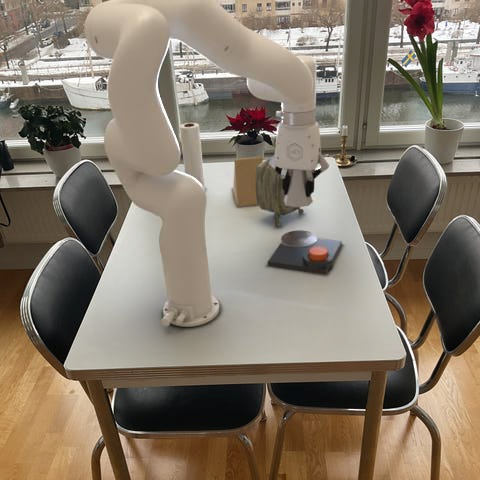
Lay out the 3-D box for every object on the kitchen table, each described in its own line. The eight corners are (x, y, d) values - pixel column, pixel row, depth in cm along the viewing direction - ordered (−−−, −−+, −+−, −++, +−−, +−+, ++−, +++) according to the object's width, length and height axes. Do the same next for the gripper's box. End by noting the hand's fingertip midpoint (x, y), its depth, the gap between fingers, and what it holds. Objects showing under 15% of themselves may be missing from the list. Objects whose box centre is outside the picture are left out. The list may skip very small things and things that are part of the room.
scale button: (324, 262, 129) (324, 256, 128) (307, 260, 130) (307, 253, 129) (329, 254, 132) (329, 247, 131) (312, 251, 134) (312, 245, 133)
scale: (328, 275, 129) (329, 264, 127) (267, 266, 134) (267, 256, 132) (344, 245, 141) (344, 235, 139) (287, 238, 146) (287, 228, 144)
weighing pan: (311, 250, 134) (311, 248, 133) (276, 245, 137) (276, 244, 137) (321, 234, 141) (321, 232, 140) (287, 229, 144) (287, 228, 144)
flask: (311, 208, 128) (312, 168, 123) (281, 207, 130) (280, 167, 124) (314, 196, 134) (315, 157, 128) (285, 196, 136) (285, 157, 130)
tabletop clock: (278, 231, 150) (277, 141, 136) (254, 223, 155) (250, 136, 141) (309, 213, 159) (311, 127, 144) (285, 206, 164) (284, 122, 149)
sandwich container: (257, 186, 179) (256, 141, 170) (264, 204, 166) (263, 156, 157) (232, 188, 178) (229, 143, 169) (237, 207, 166) (234, 159, 157)
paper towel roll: (194, 185, 182) (188, 121, 170) (208, 188, 179) (202, 123, 167) (181, 192, 178) (172, 127, 165) (195, 196, 175) (187, 129, 162)
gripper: (257, 119, 120) (260, 196, 131) (331, 123, 115) (328, 203, 125) (268, 111, 126) (270, 185, 136) (339, 114, 120) (336, 191, 131)
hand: (298, 193), depth 131 cm, fingers closed on flask, 4 cm apart
